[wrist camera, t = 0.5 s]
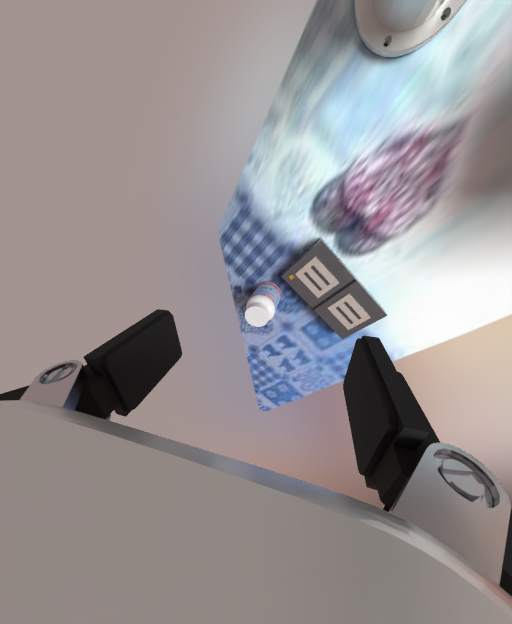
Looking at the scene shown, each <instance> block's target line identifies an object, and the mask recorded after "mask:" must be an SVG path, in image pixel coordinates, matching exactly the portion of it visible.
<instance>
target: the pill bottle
mask: <svg viewBox="0 0 512 624" xmlns="http://www.w3.org/2000/svg"><path fill="white" fill-rule="evenodd" d="M280 297H281V291H280V289H279V287H278V286H277V285H276V284H274V283H271V282H264V283H262V284H260V285H259V286H258V288H257V289H256V290H255V292H254V293H253V295H252V296H251V297H250V299H249V300H248V302H247V306H246V309H247V310H246V312H245V318H246V320H247V322H248V323H249V324H251V325H252V326H255V327H262V326H264V325H265V324H266V323H267V322H268V320H270V319H271V318H272V317H273V316H274V314H275V311H276V308H277V306H278V303H279V300H280Z"/></svg>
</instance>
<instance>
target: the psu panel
mask: <svg viewBox="0 0 512 624" xmlns="http://www.w3.org/2000/svg"><path fill="white" fill-rule="evenodd" d="M281 277H282V278H283V279H284V280H285V281H286V282H287V283H288V284H289V285H290V286H291V287H292V288H293V289H294V290H295V291H296V292H297V293H298V294H299V295H300V296H301V297H302V298H303V299H304V300H305V301H306V303H307V304H308V305H309V306H310V307H311V308H312V309H313V310H314V311H315V312H316V313H317V314H318V315H319V316H320V317H321V318H322V319H323V320H324V321H325V322H326V323H327V324H328V325H329V326H330V327H331V328H332V329H333V330H334V331H335V332H336V333H337V334H338V335H339V336H340V337H341V338H342V339H344V338H346V337H347V336H349V335H351V334H353V333H355V332H357V331H359V330H361V329H363V328H365V327H366V326H368V325H370V324H372V323H374V322H376V321H378V320H380V319H382V318H384V317H385V316H387V314H386V313H385V311H384V309H383V308H382V307H381V306H380V305H379V303H378V302H377V301H376V300H375V299H374V298H373V297H372V295H371V294H370V293H369V292H368V291H367V290H366V289H365V287H364V286H363V285H362V284H361V283H360V282H359V281H358V279H357V278H356V277H355V276H354V275H353V274H352V273H351V271H350V270H349V269H348V268H347V267H346V266H345V265H344V263H343V262H342V261H341V260H340V259H339V258H338V257H337V255H336V254H335V253H334V252H333V251H332V250H331V249H330V247H329V246H328V245H327V244H326V243H325V242H324V241H323V239H322V238H320V239H319V240H318V241H317V242H315V243H314V244H313V245H312V246H311V247H310V248H309V249H308V250H307V251H306V252H305V253H303V254H302V255H301V256H300V257H299V258H298V259H297V260H296V261H295V262H294V263H292V264H291V265H290V266H289V267H288V268H287V269H286V270H285V271H284V272H283V273H282V276H281Z"/></svg>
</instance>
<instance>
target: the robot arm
mask: <svg viewBox="0 0 512 624" xmlns="http://www.w3.org/2000/svg"><path fill="white" fill-rule="evenodd" d="M465 2H466V0H354V9H355V19H356V25H357V29H358V31H359V34H360V37H361V39H362V40H363V42H364V43H365V45H366V46H367V48H369V49H370V50H371V51H372V52H374V53H375V54H378V55H380V56H383V57H398V56H403V55H406V54H408V53H411V52H413V51H415V50H417V49H419V48H420V47H422V46H423V45H425V44H426V43H428V42H429V41H430V40H431V39H433V38H434V37H435V36H436V35H437V34H438V33H440V32H441V31H442V30H443V29H444V27H445V26H446V25H447V24H448V23H449V22H450V21H451V20H452V19H453V18H454V16H455V15H456V14H457V12H458V11H459V10H460V8H461V7H462V6H463V5H464V3H465ZM441 17H443V18H444V21H442V20H441ZM385 43H387V47H385V46H383V45H384V44H385ZM181 355H182V351H181V346H180V342H179V338H178V334H177V330H176V326H175V322H174V318H173V315H172V314H171V313H170V312H169V311H167V310H156V311H154V312H153V313H151V314H150V315H148V316H147V317H145V318H143V319H142V320H140V321H139V322H137V323H136V324H134V325H132V326H131V327H129V328H128V329H126V330H125V331H123V332H122V333H120V334H118V335H117V336H115V337H114V338H112V339H111V340H109V341H107V342H106V343H104V344H103V345H102V346H100V347H98V348H97V349H95V350H93V351H92V352H90V353H89V354H87V355H86V356H84V359H85V360H86V362H87V365H85V366H83V364H82V363H81V361H78V360H70V361H65V362H62V363H58V364H56V365H54V366H52V367H50V368H48V369H46V370H44V371H43V372H42V373H40V374H39V375H38V376H37V377H36V378H35V379H34V381H33V382H32V383H31V385H29V386H26V387H23V388H19V389H16V390H13V391H9V392H6V393H3V394H0V624H512V509H511V507H510V499H509V497H508V495H507V493H506V491H505V489H504V487H503V486H502V484H501V483H500V482H499V481H498V479H497V478H496V477H495V475H493V474H492V472H491V471H489V470H488V469H487V468H486V467H485V466H484V465H483V464H482V463H481V462H479V461H478V460H477V459H475V458H474V457H473V456H472V455H470V454H468V453H466V452H465V451H462V450H461V449H459V448H457V447H455V446H452V445H449V444H445V443H440V441H439V439H438V438H437V436H436V434H435V432H434V430H433V429H432V427H431V425H430V423H429V422H428V420H427V418H426V416H425V414H424V412H423V411H422V409H421V407H420V405H419V404H418V402H417V400H416V398H415V396H414V395H413V393H412V391H411V389H410V387H409V386H408V384H407V382H406V380H405V379H404V377H403V375H402V374H401V373H399V372H397V371H396V369H395V367H394V365H393V363H392V361H391V359H390V358H389V356H388V354H387V352H386V350H385V348H384V346H383V345H382V343H381V341H380V339H379V338H377V337H369V336H362V338H361V339H359V338H358V339H357V340H356V343H355V347H354V350H353V353H352V356H351V360H350V363H349V366H348V369H347V373H346V376H345V379H344V384H343V389H344V395H345V400H346V405H347V411H348V416H349V422H350V427H351V433H352V438H353V443H354V449H355V455H356V460H357V465H358V470H359V473H360V474H361V475H364V476H365V481H366V486H367V487H368V488H371V489H375V490H378V493H379V497H380V500H381V501H382V503H383V506H382V508H381V509H380V508H377V507H375V506H372V505H370V504H367V503H365V502H362V501H359V500H357V499H354V498H352V497H349V496H346V495H343V494H340V493H338V492H335V491H331V490H329V489H326V488H323V487H319V486H317V485H313V484H310V483H308V482H305V481H302V480H298V479H296V478H292V477H289V476H286V475H283V474H280V473H276V472H274V471H270V470H267V469H264V468H261V467H258V466H254V465H251V464H248V463H245V462H242V461H238V460H235V459H232V458H229V457H226V456H222V455H219V454H216V453H213V452H210V451H206V450H203V449H199V448H197V447H193V446H190V445H187V444H184V443H180V442H177V441H174V440H171V439H167V438H164V437H161V436H158V435H154V434H151V433H148V432H144V431H141V430H138V429H135V428H131V427H128V426H124V425H121V424H118V423H115V422H111V421H110V417H111V412H112V411H113V410H115V412H116V413H117V414H119V415H122V416H127V415H128V413H130V412H131V410H133V409H135V408H136V407H137V406H138V405H139V404H140V403H141V401H143V399H144V398H145V397H146V396H147V395H148V394H149V392H151V390H152V389H153V388H154V387H155V386H156V385H157V383H159V381H160V380H161V379H162V378H163V377H164V376H165V375H166V374H167V372H168V371H169V370H170V369H171V368H172V367H173V366H174V365H175V363H176V362H177V361H178V360H179V359H180V358H181Z"/></svg>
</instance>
